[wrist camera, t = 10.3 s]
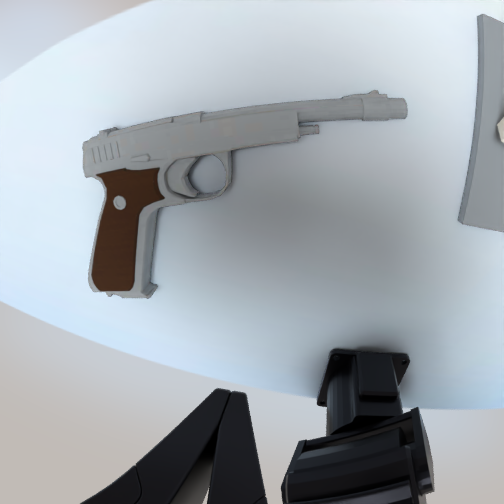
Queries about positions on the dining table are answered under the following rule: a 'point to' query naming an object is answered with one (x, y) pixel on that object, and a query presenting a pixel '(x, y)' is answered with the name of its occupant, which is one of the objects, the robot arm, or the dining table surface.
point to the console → (487, 134)
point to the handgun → (186, 172)
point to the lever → (501, 129)
